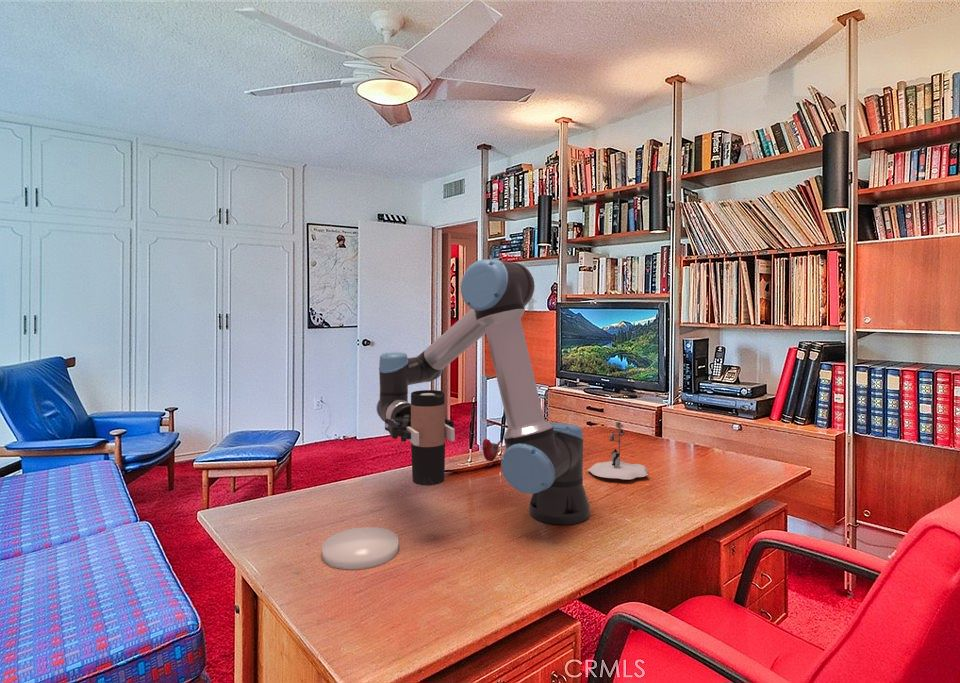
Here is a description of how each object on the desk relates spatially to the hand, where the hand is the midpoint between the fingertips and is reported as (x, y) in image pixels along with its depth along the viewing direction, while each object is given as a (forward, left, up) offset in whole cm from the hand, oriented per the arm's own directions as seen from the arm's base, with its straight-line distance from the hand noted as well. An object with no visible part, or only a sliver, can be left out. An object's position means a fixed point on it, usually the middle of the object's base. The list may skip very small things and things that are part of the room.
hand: (435, 437), depth 114 cm
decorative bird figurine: (+18, -61, -25) cm, 68 cm away
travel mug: (+4, -3, -11) cm, 12 cm away
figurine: (-22, -70, -25) cm, 77 cm away
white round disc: (+13, +9, -24) cm, 29 cm away
